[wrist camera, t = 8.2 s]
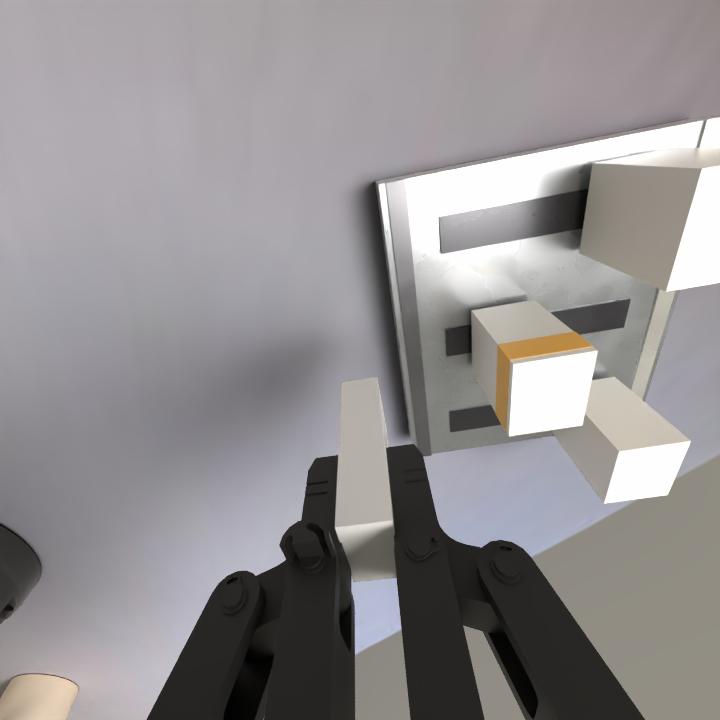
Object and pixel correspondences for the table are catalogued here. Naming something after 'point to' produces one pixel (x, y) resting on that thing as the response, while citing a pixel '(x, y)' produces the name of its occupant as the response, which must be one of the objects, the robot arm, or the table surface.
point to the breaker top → (657, 217)
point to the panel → (512, 273)
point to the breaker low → (623, 445)
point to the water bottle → (37, 698)
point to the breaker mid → (531, 367)
